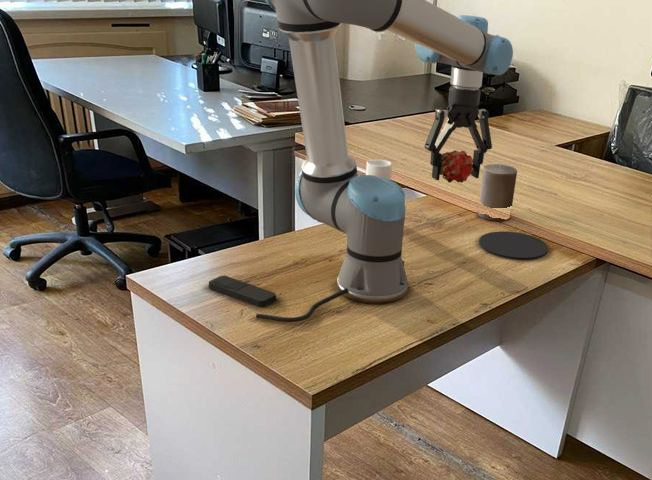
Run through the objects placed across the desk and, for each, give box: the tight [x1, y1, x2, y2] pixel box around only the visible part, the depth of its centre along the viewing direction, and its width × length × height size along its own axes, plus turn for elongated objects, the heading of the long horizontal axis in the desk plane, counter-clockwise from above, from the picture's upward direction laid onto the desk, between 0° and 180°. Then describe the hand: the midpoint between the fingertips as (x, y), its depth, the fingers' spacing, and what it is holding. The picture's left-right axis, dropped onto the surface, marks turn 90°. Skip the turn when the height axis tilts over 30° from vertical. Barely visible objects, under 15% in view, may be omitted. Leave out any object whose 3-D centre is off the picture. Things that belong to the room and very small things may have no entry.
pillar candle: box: [477, 163, 518, 222], centre depth 197 cm, size 10×10×15 cm
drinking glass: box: [365, 158, 393, 181], centre depth 188 cm, size 7×7×15 cm
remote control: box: [208, 274, 277, 308], centre depth 144 cm, size 5×2×15 cm
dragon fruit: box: [440, 149, 474, 184], centre depth 177 cm, size 8×8×12 cm
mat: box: [478, 231, 549, 261], centre depth 182 cm, size 18×18×1 cm
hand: (455, 177), depth 178 cm, fingers closed on dragon fruit, 11 cm apart
